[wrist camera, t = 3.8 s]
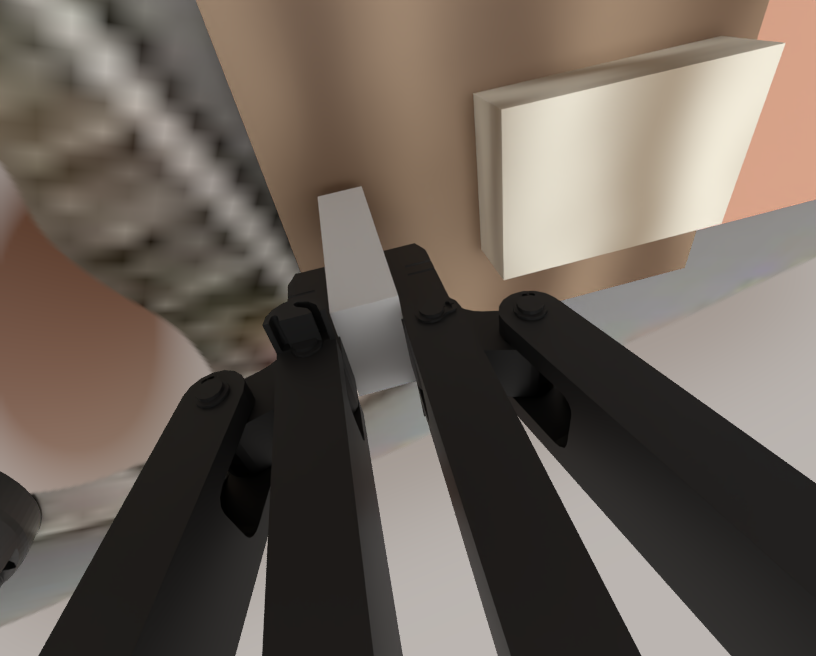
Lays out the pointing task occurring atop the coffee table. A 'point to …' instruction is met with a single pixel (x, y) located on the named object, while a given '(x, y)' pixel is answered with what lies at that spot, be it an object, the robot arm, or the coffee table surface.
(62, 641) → the robot arm
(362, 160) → the block
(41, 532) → the coffee table surface
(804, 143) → the terracotta mat
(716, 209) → the birch tile
